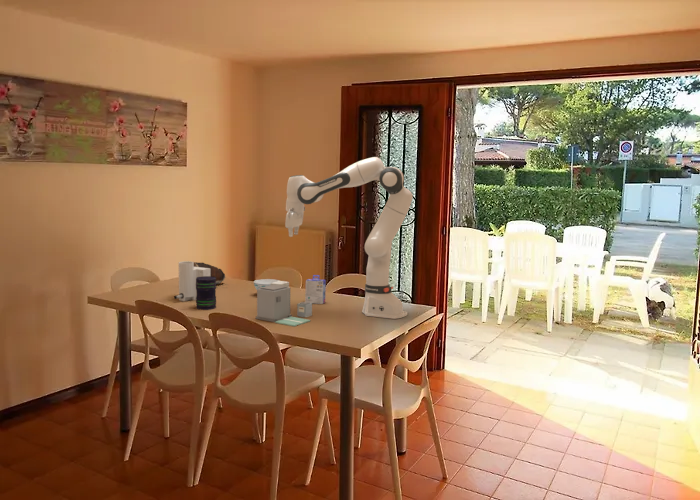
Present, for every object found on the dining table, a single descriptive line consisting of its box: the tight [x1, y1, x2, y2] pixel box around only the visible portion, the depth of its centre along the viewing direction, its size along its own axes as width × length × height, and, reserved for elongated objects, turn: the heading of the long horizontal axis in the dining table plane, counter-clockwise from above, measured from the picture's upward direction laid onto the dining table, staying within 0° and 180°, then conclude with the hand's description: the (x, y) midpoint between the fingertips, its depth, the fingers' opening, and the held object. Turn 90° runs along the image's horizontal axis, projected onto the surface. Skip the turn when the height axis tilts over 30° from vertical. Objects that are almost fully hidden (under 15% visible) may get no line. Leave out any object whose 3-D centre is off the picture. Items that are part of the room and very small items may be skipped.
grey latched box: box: [255, 285, 293, 323], centre depth 278 cm, size 11×13×15 cm
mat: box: [274, 316, 311, 327], centre depth 272 cm, size 11×12×1 cm
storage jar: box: [195, 276, 217, 311], centre depth 296 cm, size 10×10×15 cm
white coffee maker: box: [173, 260, 210, 302], centre depth 313 cm, size 16×19×20 cm
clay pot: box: [193, 261, 226, 285], centre depth 353 cm, size 15×15×25 cm
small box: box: [271, 280, 290, 288], centre depth 299 cm, size 8×6×13 cm
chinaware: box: [253, 278, 281, 291], centre depth 330 cm, size 15×15×8 cm
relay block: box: [296, 301, 313, 318], centre depth 284 cm, size 5×5×6 cm
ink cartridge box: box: [304, 274, 327, 305], centre depth 313 cm, size 10×6×14 cm, turn 78°
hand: (293, 235), depth 297 cm, fingers open, 8 cm apart
